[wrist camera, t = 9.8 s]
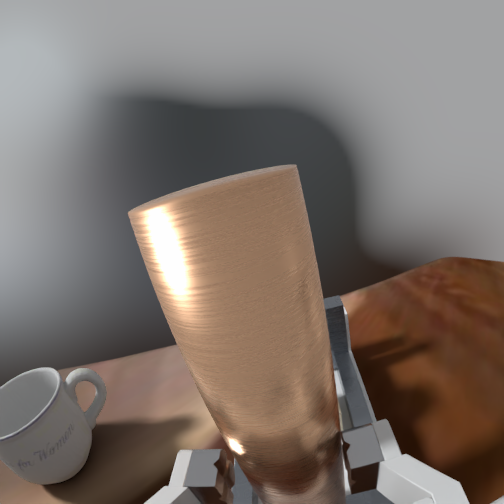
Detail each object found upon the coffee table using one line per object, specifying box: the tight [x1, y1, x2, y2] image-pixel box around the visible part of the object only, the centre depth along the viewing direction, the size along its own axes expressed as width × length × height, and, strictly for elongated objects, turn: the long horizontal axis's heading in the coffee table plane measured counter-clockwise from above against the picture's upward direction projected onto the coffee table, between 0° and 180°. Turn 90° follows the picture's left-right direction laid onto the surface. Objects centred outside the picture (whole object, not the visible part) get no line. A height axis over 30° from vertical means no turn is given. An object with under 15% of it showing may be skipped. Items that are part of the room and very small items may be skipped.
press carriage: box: [128, 165, 394, 504], centre depth 15 cm, size 9×17×17 cm, turn 178°
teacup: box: [0, 368, 107, 485], centre depth 19 cm, size 14×11×8 cm
